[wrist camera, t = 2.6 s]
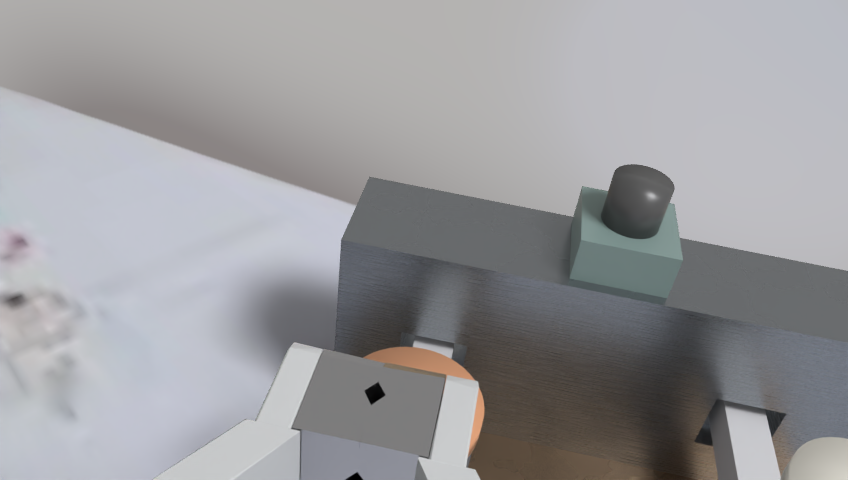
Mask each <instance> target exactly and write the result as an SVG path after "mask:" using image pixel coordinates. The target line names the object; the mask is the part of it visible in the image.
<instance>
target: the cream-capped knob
mask: <svg viewBox="0 0 848 480" xmlns="http://www.w3.org/2000/svg"><path fill="white" fill-rule="evenodd" d="M708 417H709V423H710V430H711V436H712V442H713V449H714V455H715V462H716V468H717V474H718V480H848V439H846V438H840V437H822V438H817V439H814V440H811V441H808V442H807V443H805V444H803V445H802V446H801V447H800V448H799V449H798V450H797V451H796V452H795V454H794V455H793V457H792V458H791V460H790V461H789V463H788V464H787V466H786V467H785V469H784V470H783V473H782V475H781V476H780V471H779V467H778V463H777V459H776V454H775V450H774V446H773V442H772V437H771V433H770V429H769V425H768V420H767V416H766V412H765V409H762V408H758V407H753V406H748V405H743V404H739V403H734V402H729V401H724V400H720V399H716V401H715V403H714V405H713V407H712V409H711V411H710V413H709V414H708Z"/></svg>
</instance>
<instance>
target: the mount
mask: <svg viewBox="0 0 848 480" xmlns="http://www.w3.org/2000/svg"><path fill="white" fill-rule="evenodd" d="M572 220H573V217H571V216H566V215H560V214H555V213H550V212H545V211H540V210H535V209H530V208H525V207H519V206H514V205H510V204H504V203H499V202H494V201H489V200H484V199H479V198H474V197H469V196H464V195H459V194H454V193H449V192H444V191H438V190H434V189H428V188H423V187H418V186H413V185H408V184H403V183H398V182H393V181H387V180H383V179H378V178H372V177H369V179H368V182H367V184H366V186H365V188H364V190H363V193H362V195H361V197H360V200H359V202H358V204H357V206H356V208H355V211H354V213H353V215H352V217H351V219H350V222H349V224H348V226H347V228H346V231H345V233H344V235H343V237H342V240H341V254H340V271H339V287H338V303H337V320H336V336H335V351H336V352H340V353H344V354H349V355H353V356H357V357H361V358H363V357H365V356H367V355H369V354H371V353H373V352H376V351H379V350H383V349H387V348H393V347H413V344H414V340H415V337H416V335H417V336H422V337H427V338H431V339H436V340H441V341H445V342H450V343H455V344H454V349H453V354H452V360H454V361H455V362H457V363H458V364H459V365H461V366H462V367H463V368H464V369H465V370H466V371H467V372H468V373H469V374H470V375H471V376H472V377H473V379H474V380H475V381H478V383H479V388H480V391H481V393H482V396H483V400H484V408H485V409H484V419H483V423H482V427H481V431H480V435H479V439H478V442H477V444H476V446H475V448H474V450H473V451H472V454H471V458H470V462H469V466H468V468H471V469H475V470H476V472H477V474H478V476H479V478H480V480H718V474H717V468H716V462H715V455H714V449H713V442H712V436H711V430H710V423H709V417H708V414H709V413H710V411H711V409H712V407H713V405H714V403H715V401H716V399H720V400H724V401H729V402H734V403H739V404H743V405H748V406H753V407H758V408H762V409H765V412H766V416H767V420H768V425H769V429H770V433H771V437H772V442H773V446H774V450H775V454H776V459H777V463H778V467H779V471H780V476H781V475H782V473H783V470H784V469H785V467H786V466H787V464H788V463H789V461H790V460H791V458H792V457H793V455H794V454H795V452H796V451H797V450H798V449H799V448H800V447H801V446H802V445H803V444H805V443H807V442H808V441H811V440H814V439H817V438H822V437H840V438H846V439H848V271H844V270H840V269H835V268H829V267H824V266H819V265H814V264H809V263H804V262H798V261H793V260H789V259H784V258H779V257H774V256H769V255H763V254H758V253H753V252H748V251H743V250H738V249H733V248H728V247H723V246H718V245H712V244H707V243H702V242H697V241H692V240H687V239H682V238H680V244H681V250H682V257H683V262H682V264H681V267H680V269H679V271H678V274H677V276H676V278H675V281H674V283H673V286H672V288H671V290H670V293H669V295H668V298H663V297H658V296H653V295H649V294H644V293H639V292H634V291H629V290H624V289H619V288H614V287H609V286H604V285H599V284H594V283H589V282H584V281H580V280H575V279H570V253H571V227H572Z"/></svg>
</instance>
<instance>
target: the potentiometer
mask: <svg viewBox="0 0 848 480" xmlns="http://www.w3.org/2000/svg"><path fill="white" fill-rule="evenodd" d="M673 192H674V184H673V182H672V181H671V180H670V178H668V177H667V176H666V175H665V174H663V173H662V172H660V171H658V170H656V169H653V168H650V167H647V166H643V165H632V164H631V165H624V166H621V167H619V168H617V169H616V170H615V172H614V175H613V178H612V181H611V184H610V188H609V191H604V190H599V189H594V188H589V187H584V186H582V189H581V193H580V196H579V199H578V203H577V206H576V210H575V213H574V217H573V220H572V227H571V253H570V279H575V280H580V281H584V282H589V283H594V284H599V285H604V286H609V287H614V288H619V289H624V290H629V291H634V292H639V293H644V294H649V295H653V296H658V297H663V298H668V295H669V293H670V290H671V288H672V286H673V283H674V281H675V278H676V276H677V274H678V271H679V269H680V267H681V264H682V262H683V257H682V250H681V244H680V237H679V232H678V224H677V218H676V212H675V205H674V204H671V203H669V202H670V200H671V197H672V194H673Z"/></svg>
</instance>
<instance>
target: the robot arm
mask: <svg viewBox="0 0 848 480" xmlns="http://www.w3.org/2000/svg"><path fill="white" fill-rule="evenodd" d="M445 380H446V382H445ZM444 386H445V387H444ZM478 390H479V383H478V381H474V380H469V379H464V378H459V377H455V376H450V375H447V378H446V374H441V373H436V372H431V371H426V370H421V369H416V368H411V367H406V366H401V365H396V364H391V363H382V362H378V361H374V360H370V359H365V358H361V357H357V356H353V355H349V354H344V353H340V352H336V351H332V350H328V349H321V348H317V347H313V346H308V345H304V344H300V343H296V342H294V343H293V344H292V345H291V346H290V347H289V349H288V350H287V352H286V354H285V357H284V359H283V361H282V363H281V365H280V367H279V370H278V372H277V374H276V376H275V378H274V381H273V383H272V385H271V387H270V389H269V391H268V394H267V396H266V398H265V400H264V402H263V404H262V407H261V409H260V411H259V413H258V415H257V417H256V420H255V421H254V420H248V419H245V420H244V421H242V422H240V423H239V424H237V425H236V426H234V427H233V428H231V429H230V430H228V431H226V432H225V433H223V434H222V435H220V436H219V437H217V438H216V439H214V440H213V441H211V442H209V443H208V444H206V445H205V446H203V447H202V448H200V449H199V450H197V451H195V452H194V453H192V454H191V455H189V456H188V457H186V458H185V459H183V460H181V461H180V462H178V463H177V464H175V465H174V466H172V467H171V468H169V469H167V470H166V471H164V472H163V473H161V474H160V475H158V476H157V477H155V478H154V479H152V480H480V478H479V476H478V474H477V472H476V470H475V469H471V468H467V467H466V465H467V458H468V452H469V446H470V440H471V434H472V427H473V421H474V415H475V409H476V402H477V396H478ZM443 391H444V392H443ZM442 396H443V397H442Z"/></svg>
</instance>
